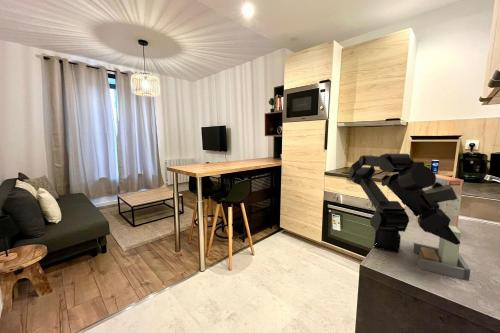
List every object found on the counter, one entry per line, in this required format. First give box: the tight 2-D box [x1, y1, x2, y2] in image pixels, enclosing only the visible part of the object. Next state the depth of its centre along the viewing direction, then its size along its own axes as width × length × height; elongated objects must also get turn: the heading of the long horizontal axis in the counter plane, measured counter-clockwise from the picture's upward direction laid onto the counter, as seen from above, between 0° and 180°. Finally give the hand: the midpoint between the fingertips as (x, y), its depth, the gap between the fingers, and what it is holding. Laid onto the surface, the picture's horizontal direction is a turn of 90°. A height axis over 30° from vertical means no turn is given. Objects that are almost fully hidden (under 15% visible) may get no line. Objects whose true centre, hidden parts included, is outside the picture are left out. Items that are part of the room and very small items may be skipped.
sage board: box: [437, 226, 462, 267], centre depth 58 cm, size 3×5×11 cm, turn 148°
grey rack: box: [412, 242, 471, 281], centre depth 60 cm, size 10×11×3 cm
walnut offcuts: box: [418, 247, 439, 262], centre depth 61 cm, size 4×8×3 cm, turn 149°
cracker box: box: [418, 173, 465, 229], centre depth 85 cm, size 14×6×21 cm, turn 168°
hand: (453, 236), depth 58 cm, fingers open, 9 cm apart
